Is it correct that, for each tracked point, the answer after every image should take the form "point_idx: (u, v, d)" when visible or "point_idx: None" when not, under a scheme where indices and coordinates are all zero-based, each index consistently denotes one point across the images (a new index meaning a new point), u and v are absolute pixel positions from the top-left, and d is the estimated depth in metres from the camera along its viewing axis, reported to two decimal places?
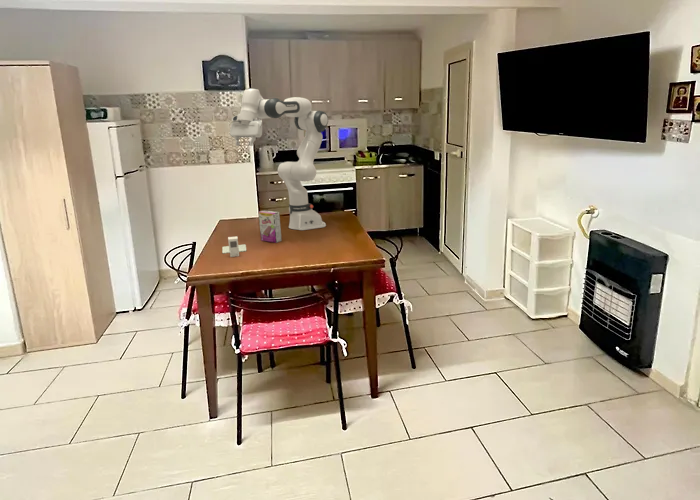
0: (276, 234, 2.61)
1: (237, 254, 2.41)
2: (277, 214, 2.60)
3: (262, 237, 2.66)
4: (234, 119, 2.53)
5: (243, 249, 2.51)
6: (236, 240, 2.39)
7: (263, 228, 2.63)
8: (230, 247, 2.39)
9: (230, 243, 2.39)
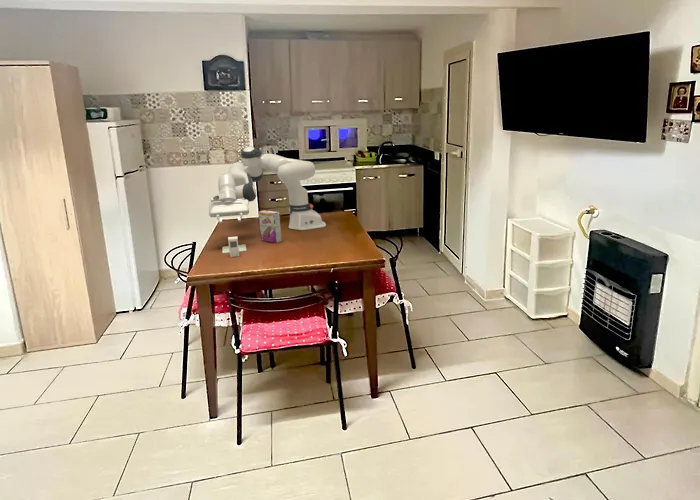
0: (276, 234, 2.61)
1: (237, 254, 2.41)
2: (277, 214, 2.60)
3: (262, 237, 2.66)
4: (215, 198, 2.52)
5: (243, 249, 2.51)
6: (236, 240, 2.39)
7: (263, 228, 2.63)
8: (230, 247, 2.39)
9: (230, 243, 2.39)
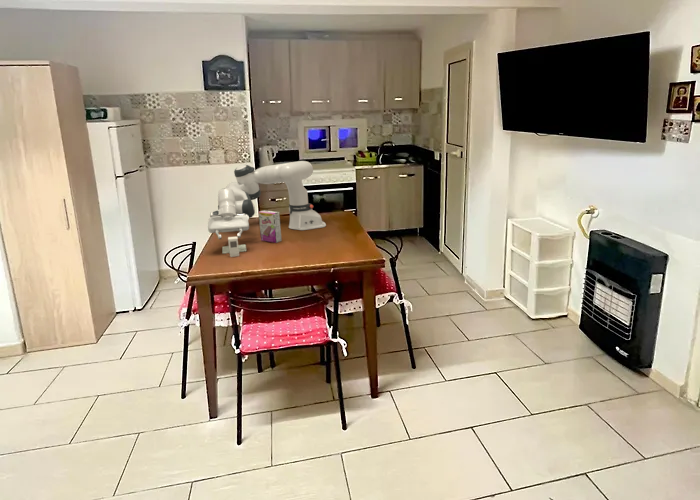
0: (276, 234, 2.61)
1: (237, 254, 2.41)
2: (277, 214, 2.60)
3: (262, 237, 2.66)
4: (214, 214, 2.45)
5: (243, 249, 2.51)
6: (236, 240, 2.39)
7: (263, 228, 2.63)
8: (230, 247, 2.39)
9: (230, 243, 2.39)
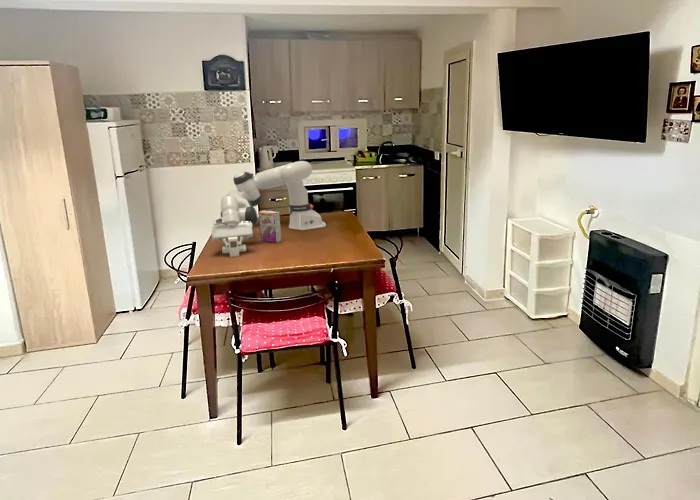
0: (276, 234, 2.61)
1: (237, 254, 2.41)
2: (277, 214, 2.60)
3: (262, 237, 2.66)
4: (218, 222, 2.43)
5: (243, 249, 2.51)
6: (236, 240, 2.39)
7: (263, 228, 2.63)
8: (230, 247, 2.39)
9: (230, 243, 2.39)
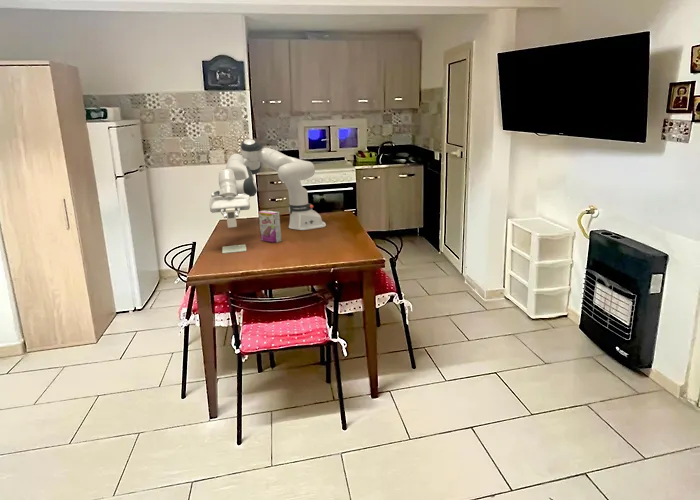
0: (276, 234, 2.61)
1: (234, 225, 2.48)
2: (277, 214, 2.60)
3: (262, 237, 2.66)
4: (215, 194, 2.49)
5: (243, 249, 2.51)
6: (233, 211, 2.46)
7: (263, 228, 2.63)
8: (228, 218, 2.46)
9: (228, 214, 2.45)
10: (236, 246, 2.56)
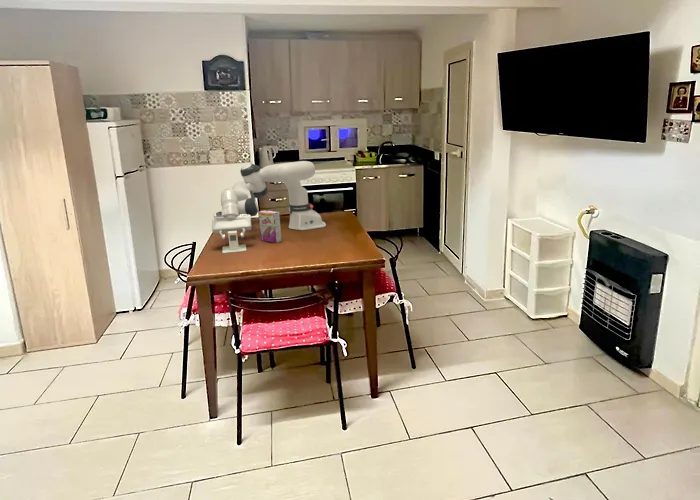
0: (276, 234, 2.61)
1: (236, 247, 2.51)
2: (277, 214, 2.60)
3: (262, 237, 2.66)
4: (218, 214, 2.53)
5: (243, 249, 2.51)
6: (235, 234, 2.49)
7: (263, 228, 2.63)
8: (230, 240, 2.50)
9: (230, 237, 2.49)
10: None
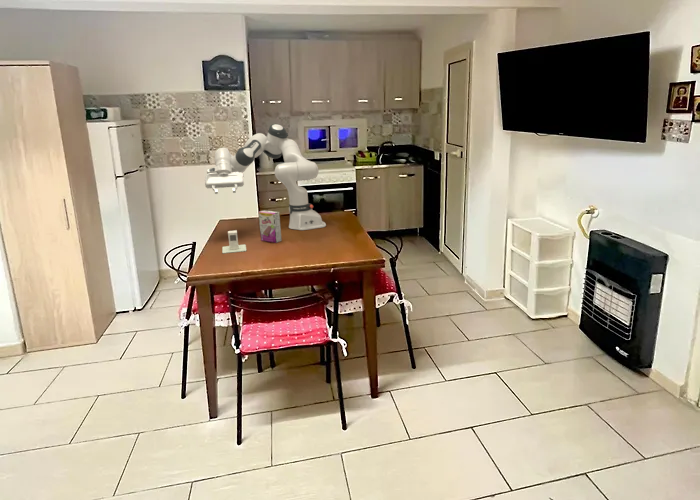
0: (276, 234, 2.61)
1: (236, 247, 2.51)
2: (277, 214, 2.60)
3: (262, 237, 2.66)
4: (211, 170, 2.61)
5: (243, 249, 2.51)
6: (235, 234, 2.49)
7: (263, 228, 2.63)
8: (230, 240, 2.50)
9: (230, 237, 2.49)
10: None
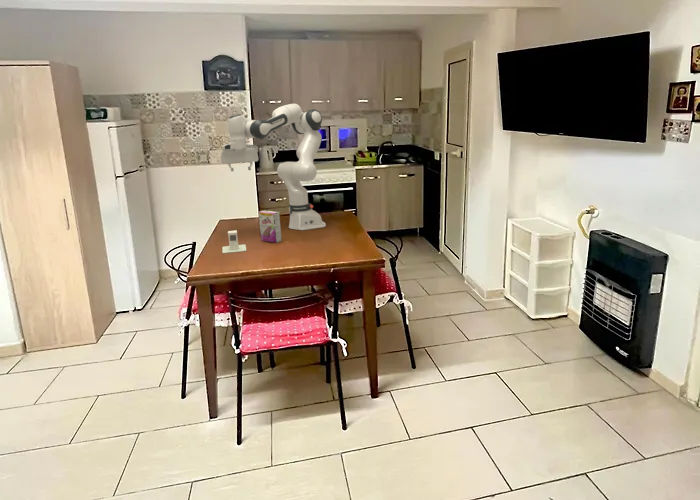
0: (276, 234, 2.61)
1: (236, 247, 2.51)
2: (277, 214, 2.60)
3: (262, 237, 2.66)
4: (226, 148, 2.62)
5: (243, 249, 2.51)
6: (235, 234, 2.49)
7: (263, 228, 2.63)
8: (230, 240, 2.50)
9: (230, 237, 2.49)
10: None
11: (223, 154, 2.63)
